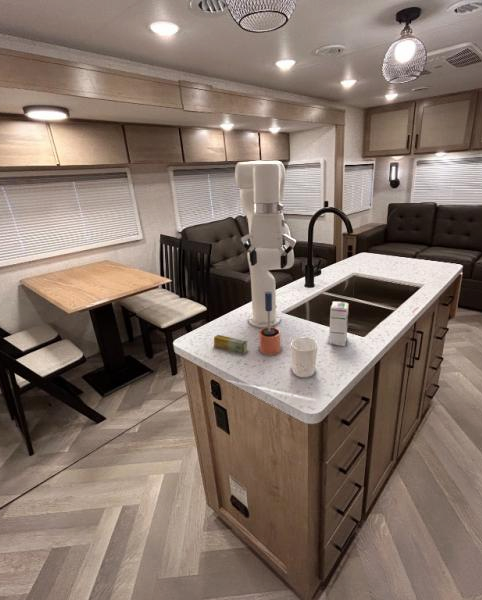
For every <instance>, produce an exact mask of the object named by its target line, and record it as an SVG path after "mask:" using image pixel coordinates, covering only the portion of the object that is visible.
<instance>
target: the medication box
mask: <svg viewBox="0 0 482 600" xmlns="http://www.w3.org/2000/svg"><path fill="white" fill-rule="evenodd" d="M213 347H214V348H216V349H217V348H218V349H221V350H224V351H228V352H232V353H236V354H240V355H244V354H246V353H247V351H248V341H247V340H243V339H238V338H234V337H229V336H225V335H220V334H216V335H215V336H214V337H213Z"/></svg>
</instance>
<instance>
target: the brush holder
mask: <svg viewBox="0 0 482 600" xmlns="http://www.w3.org/2000/svg"><path fill="white" fill-rule="evenodd" d="M267 329H268V327H262V328H261V329H260V330H259V333H258V334H259V351H260V352H261V353H262V354H264V355H269V356H271V355H276V354H278V353H279V352H281V351H282V336H281V335H282V331H281V330H280V329H279V328H278V327H275V326H271V327H270V329H272V330H274V331H275V336H273V337H267V336H264V331H265V330H267Z"/></svg>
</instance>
